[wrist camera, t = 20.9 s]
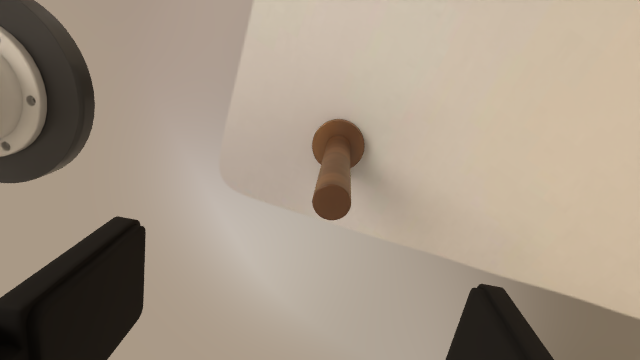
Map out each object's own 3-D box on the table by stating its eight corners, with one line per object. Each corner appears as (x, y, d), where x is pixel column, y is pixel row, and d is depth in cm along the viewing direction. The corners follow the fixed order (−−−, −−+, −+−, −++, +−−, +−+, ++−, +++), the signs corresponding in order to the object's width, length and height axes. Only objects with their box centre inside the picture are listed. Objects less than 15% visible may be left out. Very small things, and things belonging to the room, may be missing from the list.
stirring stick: (313, 168, 33) (289, 240, 20) (312, 118, 32) (288, 160, 19) (362, 169, 33) (372, 243, 20) (364, 119, 31) (376, 162, 18)
